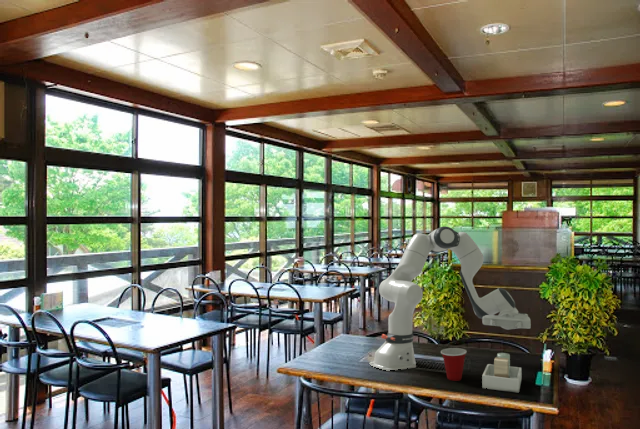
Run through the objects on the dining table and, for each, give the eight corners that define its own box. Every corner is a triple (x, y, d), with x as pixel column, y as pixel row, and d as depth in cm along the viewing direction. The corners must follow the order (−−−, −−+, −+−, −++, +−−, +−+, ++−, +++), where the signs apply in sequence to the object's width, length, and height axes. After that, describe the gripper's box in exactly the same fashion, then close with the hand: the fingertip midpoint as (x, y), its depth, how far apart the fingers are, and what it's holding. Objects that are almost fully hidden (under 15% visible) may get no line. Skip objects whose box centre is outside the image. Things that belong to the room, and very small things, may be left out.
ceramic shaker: (505, 381, 206) (504, 356, 207) (494, 378, 211) (494, 354, 211) (512, 378, 209) (512, 354, 209) (502, 375, 213) (501, 352, 213)
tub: (518, 392, 195) (518, 379, 195) (482, 388, 201) (482, 375, 201) (521, 379, 211) (521, 367, 211) (487, 375, 217) (487, 363, 217)
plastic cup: (438, 374, 219) (438, 347, 219) (463, 374, 218) (463, 347, 218) (443, 382, 208) (443, 353, 208) (469, 382, 207) (469, 353, 208)
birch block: (507, 386, 199) (507, 361, 199) (494, 385, 201) (494, 360, 202) (508, 383, 204) (508, 358, 204) (495, 381, 206) (495, 357, 206)
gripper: (484, 310, 235) (479, 315, 222) (531, 314, 226) (529, 319, 214) (484, 324, 235) (479, 329, 222) (531, 328, 226) (529, 334, 214)
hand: (504, 324), depth 218 cm, fingers open, 8 cm apart
